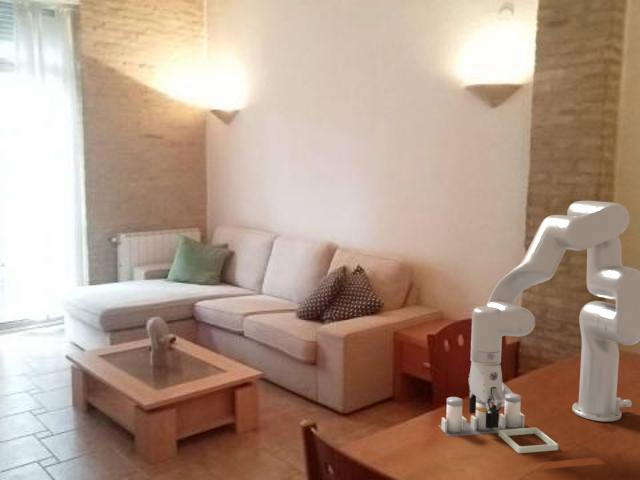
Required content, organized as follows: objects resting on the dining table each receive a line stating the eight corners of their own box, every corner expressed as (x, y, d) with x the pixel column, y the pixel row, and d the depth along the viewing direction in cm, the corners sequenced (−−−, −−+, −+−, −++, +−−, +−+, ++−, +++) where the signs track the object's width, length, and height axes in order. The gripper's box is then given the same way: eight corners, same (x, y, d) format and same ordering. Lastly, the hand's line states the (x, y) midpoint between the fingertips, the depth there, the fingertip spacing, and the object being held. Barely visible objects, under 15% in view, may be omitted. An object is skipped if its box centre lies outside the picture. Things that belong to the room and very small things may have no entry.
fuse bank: (515, 423, 169) (517, 390, 168) (528, 434, 162) (530, 400, 161) (437, 429, 165) (438, 395, 163) (447, 440, 158) (448, 405, 157)
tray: (535, 436, 161) (536, 427, 160) (557, 454, 151) (558, 444, 150) (498, 439, 159) (498, 430, 158) (518, 457, 149) (518, 447, 148)
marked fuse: (486, 424, 165) (487, 394, 164) (493, 430, 161) (494, 400, 160) (472, 425, 165) (473, 395, 164) (479, 431, 161) (480, 401, 160)
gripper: (515, 365, 153) (512, 432, 155) (484, 345, 170) (482, 406, 172) (487, 366, 152) (484, 434, 154) (458, 346, 169) (456, 408, 170)
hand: (483, 419), depth 163 cm, fingers open, 9 cm apart
